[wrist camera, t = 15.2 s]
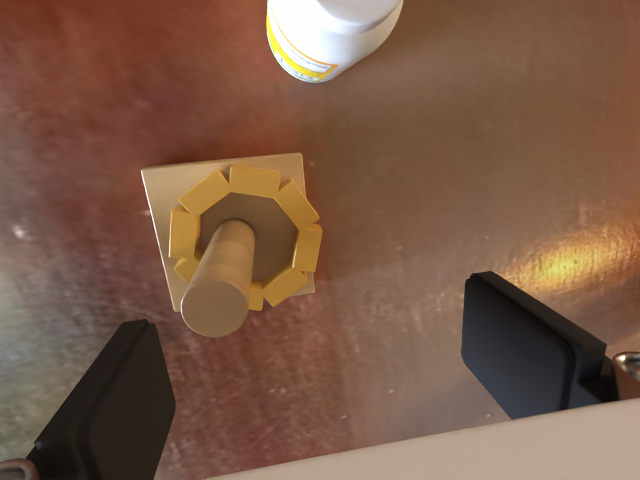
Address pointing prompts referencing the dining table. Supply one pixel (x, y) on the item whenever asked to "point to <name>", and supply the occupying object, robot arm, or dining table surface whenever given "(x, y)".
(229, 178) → the ring
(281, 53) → the supplement bottle
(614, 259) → the dining table surface
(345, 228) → the dining table surface
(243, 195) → the post
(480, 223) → the dining table surface
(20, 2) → the dining table surface
